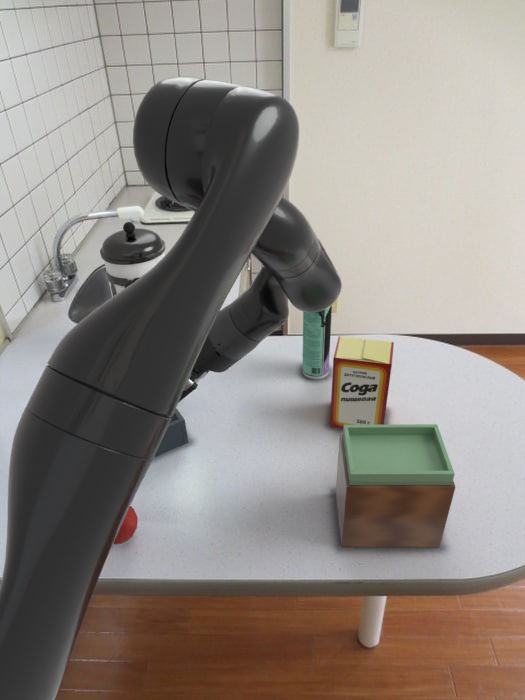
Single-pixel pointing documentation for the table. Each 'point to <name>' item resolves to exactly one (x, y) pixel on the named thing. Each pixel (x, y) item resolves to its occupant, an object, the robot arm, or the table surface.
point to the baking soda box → (360, 381)
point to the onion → (127, 527)
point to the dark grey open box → (173, 434)
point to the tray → (396, 455)
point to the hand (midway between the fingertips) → (167, 386)
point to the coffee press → (130, 255)
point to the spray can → (316, 343)
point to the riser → (390, 512)
